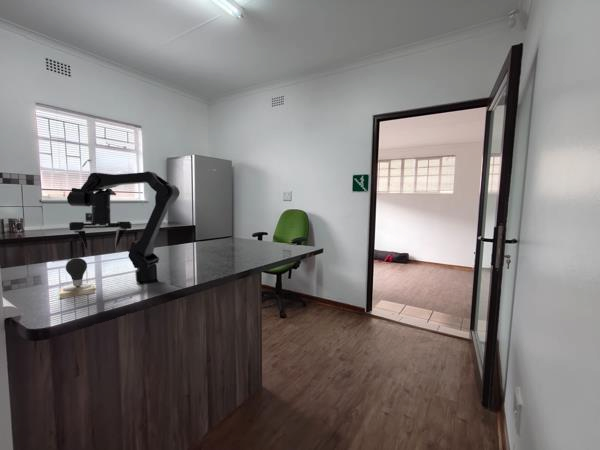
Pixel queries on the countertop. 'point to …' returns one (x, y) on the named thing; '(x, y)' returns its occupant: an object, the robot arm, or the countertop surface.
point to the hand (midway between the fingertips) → (101, 248)
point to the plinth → (77, 290)
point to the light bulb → (76, 270)
